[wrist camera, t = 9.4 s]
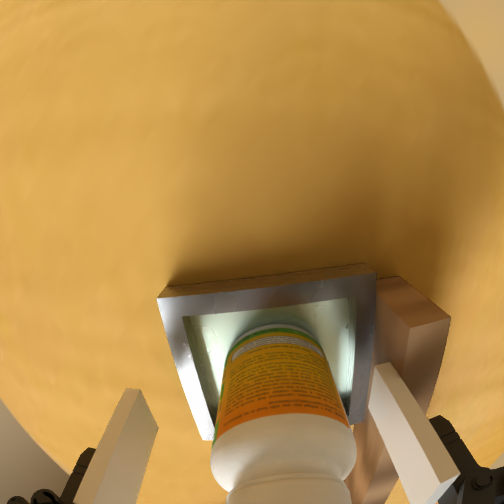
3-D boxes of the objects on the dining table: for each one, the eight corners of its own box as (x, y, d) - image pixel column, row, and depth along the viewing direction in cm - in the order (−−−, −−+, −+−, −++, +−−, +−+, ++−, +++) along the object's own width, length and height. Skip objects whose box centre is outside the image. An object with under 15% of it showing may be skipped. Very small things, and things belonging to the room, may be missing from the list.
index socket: (165, 286, 14) (156, 298, 13) (365, 262, 14) (376, 272, 12) (205, 423, 17) (202, 440, 15) (356, 406, 16) (362, 422, 15)
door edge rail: (354, 283, 14) (420, 362, 7) (408, 274, 14) (490, 336, 7) (335, 491, 19) (346, 547, 13) (366, 484, 19) (382, 538, 12)
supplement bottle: (208, 339, 14) (164, 509, 5) (308, 305, 14) (371, 477, 5) (247, 407, 16) (241, 553, 6) (333, 381, 15) (379, 526, 6)
